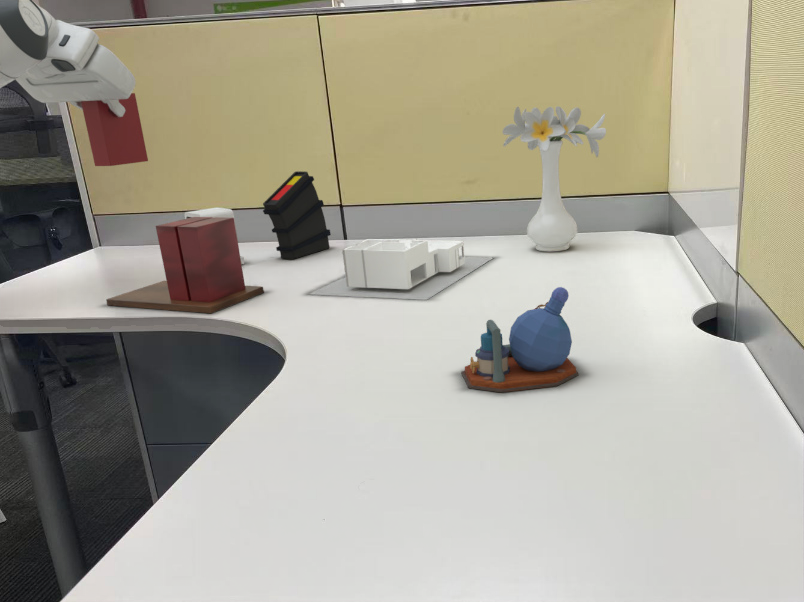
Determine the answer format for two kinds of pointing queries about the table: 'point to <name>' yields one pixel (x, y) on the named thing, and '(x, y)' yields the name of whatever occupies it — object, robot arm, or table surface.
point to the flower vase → (552, 169)
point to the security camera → (213, 213)
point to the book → (115, 133)
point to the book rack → (195, 269)
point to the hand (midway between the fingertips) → (110, 114)
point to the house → (401, 268)
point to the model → (525, 352)
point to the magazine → (297, 217)
